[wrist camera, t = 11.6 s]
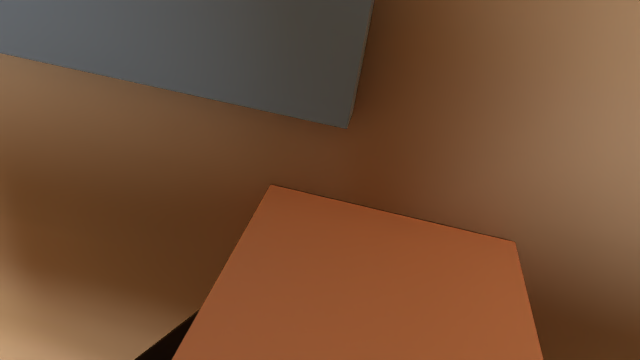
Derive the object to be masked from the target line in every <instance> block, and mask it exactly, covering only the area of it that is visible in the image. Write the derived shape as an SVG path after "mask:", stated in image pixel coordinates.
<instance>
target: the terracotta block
mask: <svg viewBox="0 0 640 360" xmlns="http://www.w3.org/2000/svg"><path fill="white" fill-rule="evenodd" d="M172 360H543V356H542V352H541V348H540V344H539V339H538V335H537V331H536V327H535V323H534V319H533V315H532V311H531V306H530V302H529V298H528V294H527V290H526V286H525V282H524V277H523V273H522V269H521V265H520V261H519V257H518V253H517V248H516V244H515V242H513V241H508V240H504V239H500V238H496V237H491V236H487V235H483V234H479V233H474V232H470V231H466V230H462V229H457V228H453V227H449V226H445V225H440V224H436V223H432V222H428V221H423V220H419V219H415V218H411V217H406V216H402V215H398V214H394V213H389V212H385V211H381V210H377V209H372V208H368V207H364V206H360V205H355V204H351V203H347V202H343V201H338V200H334V199H330V198H326V197H321V196H317V195H313V194H309V193H304V192H300V191H296V190H292V189H287V188H283V187H279V186H275V185H270V186H269V188H268V190H267V192H266V193H265V195H264V197H263V199H262V200H261V202H260V204H259V206H258V208H257V209H256V211H255V213H254V215H253V216H252V218H251V220H250V222H249V224H248V225H247V227H246V229H245V231H244V232H243V234H242V236H241V238H240V240H239V241H238V243H237V245H236V247H235V248H234V250H233V252H232V254H231V256H230V257H229V259H228V261H227V263H226V264H225V266H224V268H223V270H222V272H221V273H220V275H219V277H218V279H217V280H216V282H215V284H214V286H213V287H212V289H211V291H210V293H209V295H208V296H207V298H206V300H205V302H204V303H203V305H202V307H201V309H200V311H199V312H198V314H197V316H196V318H195V319H194V321H193V323H192V325H191V327H190V328H189V330H188V332H187V334H186V335H185V337H184V339H183V341H182V343H181V344H180V346H179V348H178V350H177V351H176V353H175V355H174V357H173V359H172Z"/></svg>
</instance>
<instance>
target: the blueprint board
mask: <svg viewBox="0 0 640 360" xmlns="http://www.w3.org/2000/svg"><path fill="white" fill-rule="evenodd" d="M374 1H375V0H0V53H2V54H7V55H11V56H16V57H20V58H25V59H30V60H34V61H39V62H43V63H48V64H52V65H57V66H62V67H66V68H71V69H75V70H80V71H84V72H89V73H93V74H98V75H103V76H107V77H112V78H116V79H121V80H125V81H130V82H135V83H139V84H144V85H148V86H153V87H157V88H162V89H166V90H171V91H176V92H180V93H185V94H189V95H194V96H198V97H203V98H208V99H212V100H217V101H221V102H226V103H230V104H235V105H239V106H244V107H249V108H253V109H258V110H262V111H267V112H271V113H276V114H281V115H285V116H290V117H294V118H299V119H303V120H308V121H312V122H317V123H322V124H326V125H331V126H335V127H340V128H344V129H347V127H348V125H349V122H350V119H351V117H352V114H353V109H354V103H355V98H356V93H357V88H358V83H359V78H360V73H361V67H362V62H363V57H364V52H365V47H366V42H367V37H368V31H369V26H370V21H371V16H372V11H373V6H374Z"/></svg>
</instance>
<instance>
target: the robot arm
mask: <svg viewBox="0 0 640 360" xmlns="http://www.w3.org/2000/svg"><path fill="white" fill-rule="evenodd" d="M199 311H200V310H198V311H197V312H196V313H194V314H193V315H192V316H191V317H189V318H188V319H187V320H185V321H184V322H183V323H181V324H180V325H179V326H178V327H176V328H175V329H174V330H172V331H171V332H170V333H168V334H167V335H166V336H165V337H163V338H162V339H161V340H159V341H158V342H157V343H155V344H154V345H153V346H152V347H150V348H149V349H148V350H146V351H145V352H144V353H142V354H141V355H140V356H138V357H137V358H136V359H135V360H172V359H173V357H174V355H175V353H176V351H177V350H178V348H179V346H180V344H181V343H182V341H183V339H184V337H185V335H186V334H187V332H188V330H189V328H190V327H191V325H192V323H193V321H194V319H195V318H196V316H197V314H198V312H199Z"/></svg>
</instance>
